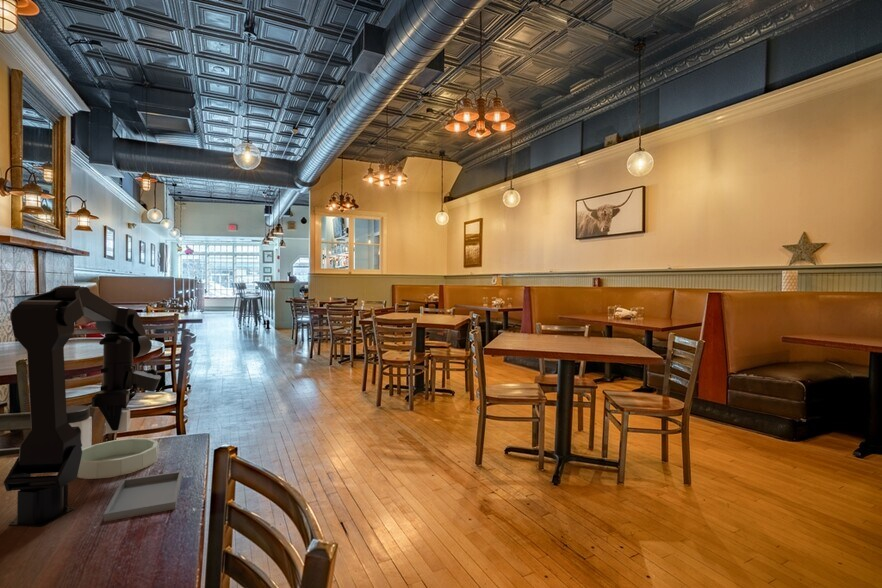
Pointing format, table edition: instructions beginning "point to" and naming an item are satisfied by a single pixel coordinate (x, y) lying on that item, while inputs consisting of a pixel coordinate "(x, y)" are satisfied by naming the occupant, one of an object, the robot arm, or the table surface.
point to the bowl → (117, 457)
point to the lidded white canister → (81, 422)
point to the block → (121, 422)
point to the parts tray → (144, 496)
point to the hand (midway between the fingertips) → (117, 427)
